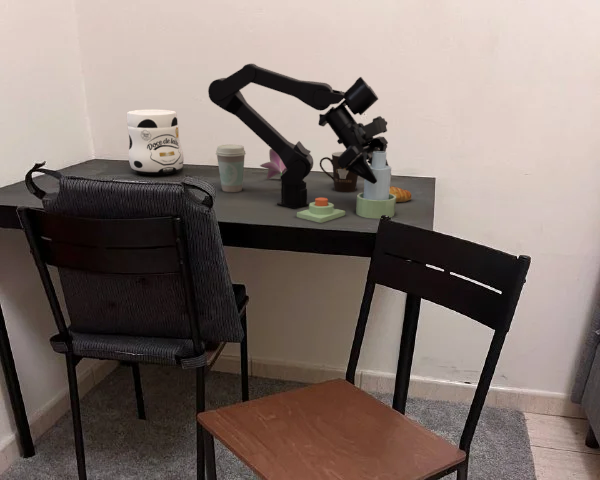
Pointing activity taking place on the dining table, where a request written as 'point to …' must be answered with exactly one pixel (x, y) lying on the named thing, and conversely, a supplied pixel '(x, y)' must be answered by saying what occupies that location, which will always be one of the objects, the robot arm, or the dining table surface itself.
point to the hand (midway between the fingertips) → (383, 179)
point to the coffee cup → (231, 166)
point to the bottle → (378, 178)
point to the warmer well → (375, 207)
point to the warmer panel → (320, 213)
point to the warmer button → (321, 202)
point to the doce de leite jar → (154, 142)
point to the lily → (274, 165)
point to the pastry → (400, 194)
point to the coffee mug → (341, 175)
